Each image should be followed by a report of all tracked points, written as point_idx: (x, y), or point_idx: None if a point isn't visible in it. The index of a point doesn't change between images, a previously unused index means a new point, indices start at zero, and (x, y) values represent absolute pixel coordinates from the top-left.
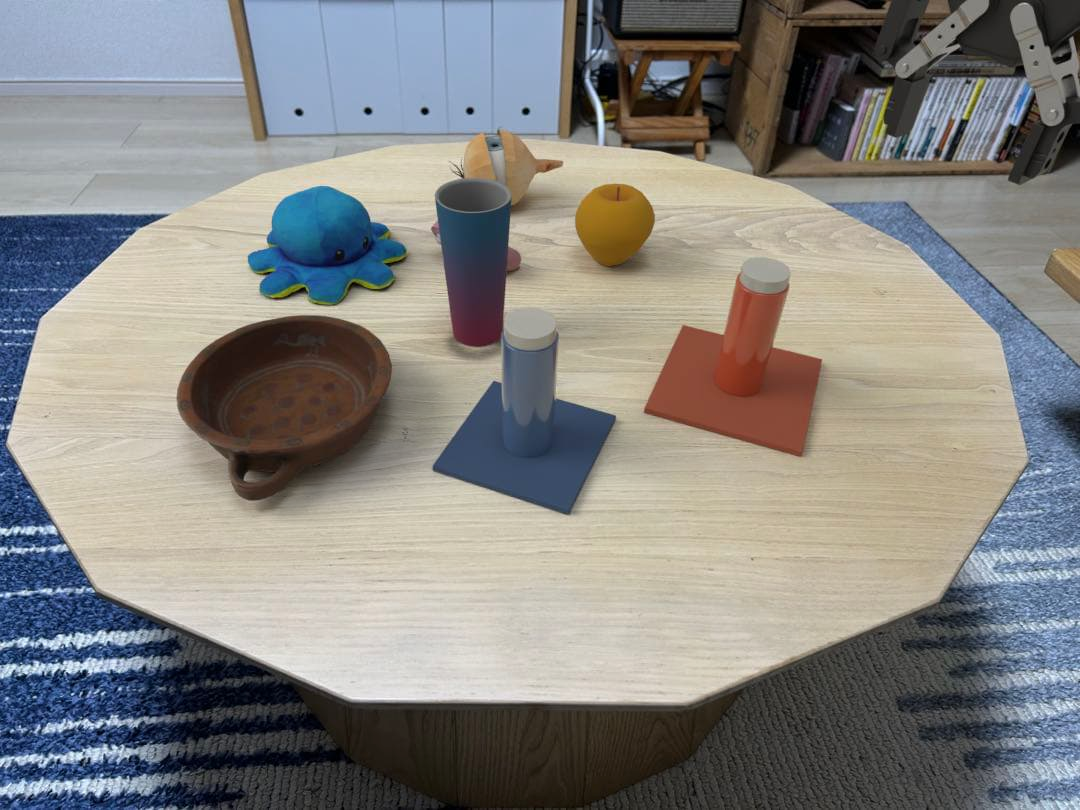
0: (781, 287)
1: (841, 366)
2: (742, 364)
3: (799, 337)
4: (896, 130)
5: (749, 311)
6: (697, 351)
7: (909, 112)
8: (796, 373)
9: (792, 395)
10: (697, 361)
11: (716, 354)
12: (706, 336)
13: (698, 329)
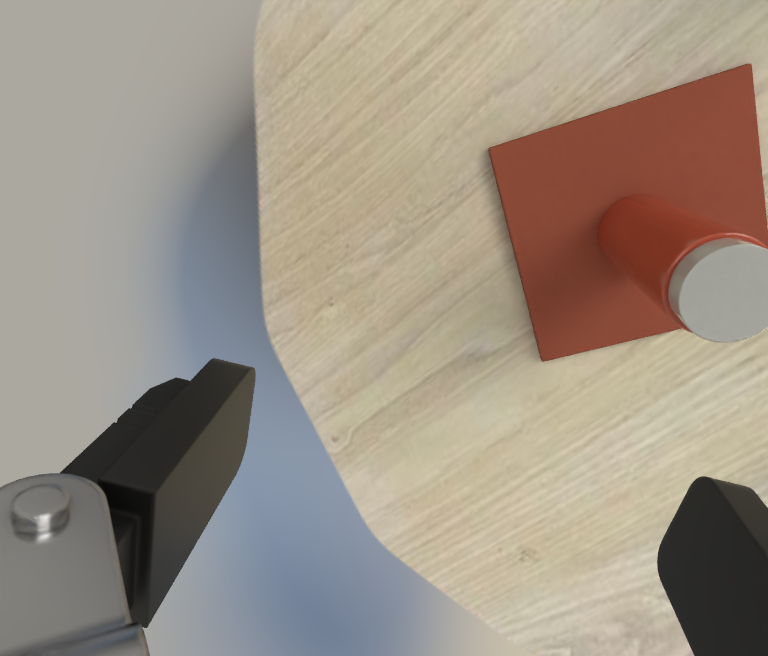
0: (678, 272)
1: (513, 371)
2: (647, 206)
3: (590, 396)
4: (714, 489)
5: (703, 223)
6: None
7: (717, 580)
8: (562, 307)
9: (548, 256)
10: None
11: None
12: None
13: None
